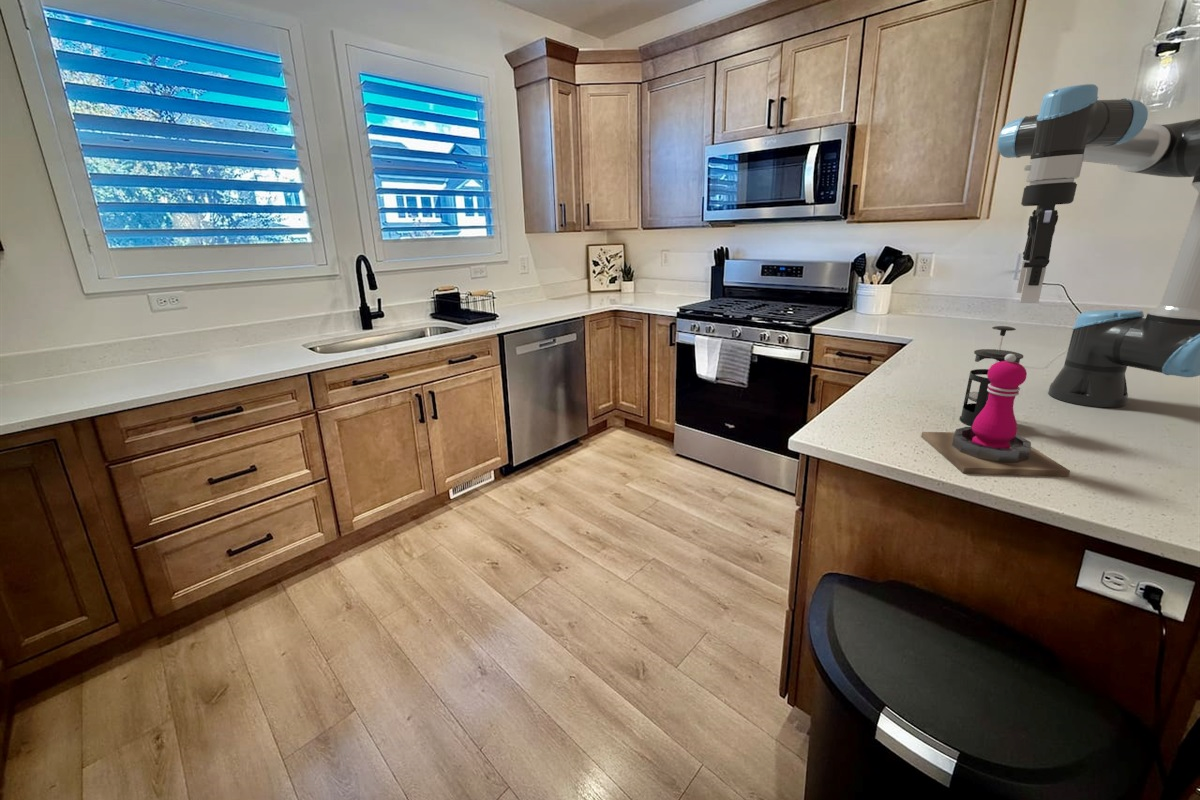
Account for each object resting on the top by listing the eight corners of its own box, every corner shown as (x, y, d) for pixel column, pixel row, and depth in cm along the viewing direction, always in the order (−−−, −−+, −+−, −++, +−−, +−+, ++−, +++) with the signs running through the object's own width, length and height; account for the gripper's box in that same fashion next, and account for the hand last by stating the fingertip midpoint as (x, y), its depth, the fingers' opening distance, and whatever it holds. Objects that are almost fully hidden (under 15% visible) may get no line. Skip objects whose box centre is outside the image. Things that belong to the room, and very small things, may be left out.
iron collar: (1004, 438, 109) (1007, 427, 109) (1043, 463, 98) (1046, 451, 97) (941, 436, 111) (943, 426, 110) (972, 461, 100) (974, 450, 99)
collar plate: (1009, 438, 112) (1010, 433, 112) (1068, 476, 95) (1070, 470, 95) (921, 436, 115) (922, 431, 114) (963, 473, 98) (964, 467, 97)
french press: (997, 434, 115) (1021, 333, 107) (951, 422, 122) (970, 327, 114) (1017, 421, 121) (1040, 325, 114) (971, 411, 128) (990, 320, 121)
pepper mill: (959, 443, 108) (979, 350, 101) (991, 440, 108) (1013, 348, 102) (986, 457, 101) (1009, 359, 94) (1021, 455, 101) (1046, 357, 95)
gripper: (1021, 185, 106) (1001, 288, 113) (1029, 182, 87) (1005, 306, 94) (1068, 182, 102) (1045, 289, 109) (1088, 178, 83) (1058, 308, 90)
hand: (1026, 297), depth 102 cm, fingers open, 13 cm apart
